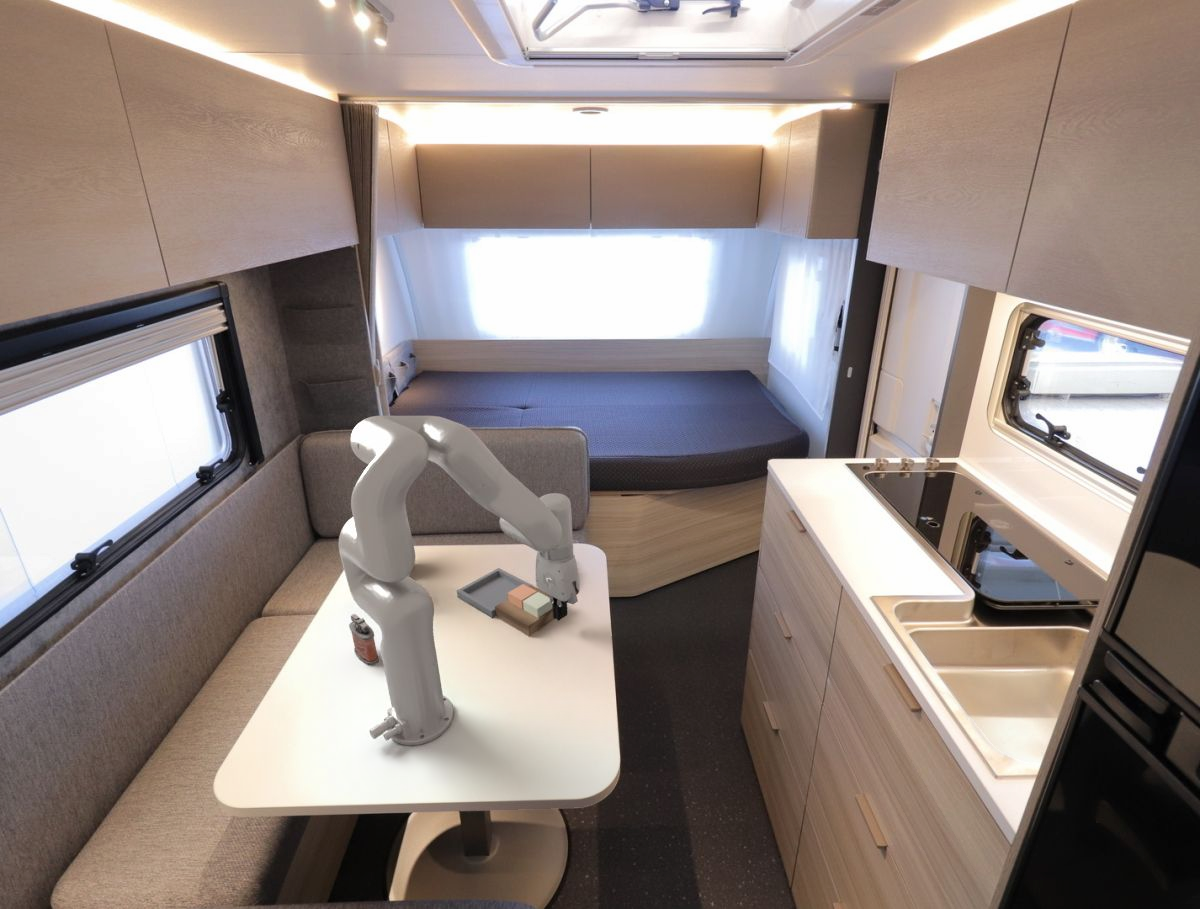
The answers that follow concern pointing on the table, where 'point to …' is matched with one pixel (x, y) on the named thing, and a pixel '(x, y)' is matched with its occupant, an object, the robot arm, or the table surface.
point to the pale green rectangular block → (537, 604)
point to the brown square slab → (523, 616)
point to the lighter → (363, 641)
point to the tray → (489, 591)
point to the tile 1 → (520, 595)
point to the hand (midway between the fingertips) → (560, 616)
